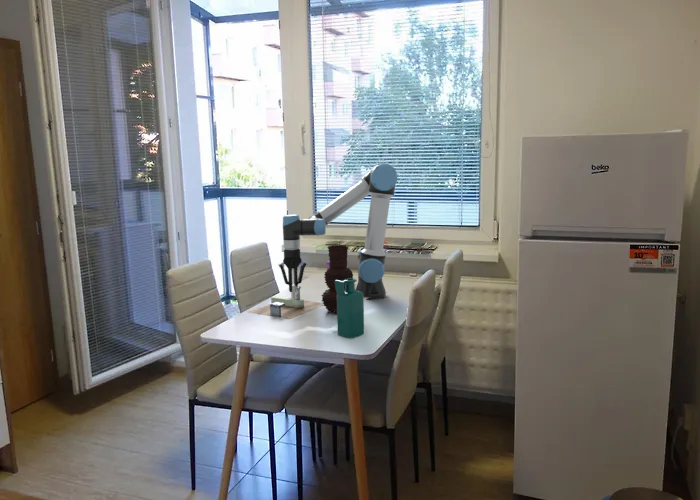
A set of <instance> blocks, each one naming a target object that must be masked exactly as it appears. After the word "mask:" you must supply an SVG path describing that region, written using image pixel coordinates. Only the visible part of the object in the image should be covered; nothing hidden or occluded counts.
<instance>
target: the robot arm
mask: <svg viewBox="0 0 700 500" xmlns="http://www.w3.org/2000/svg"><path fill="white" fill-rule="evenodd" d="M397 183H398V173H397V170H396V169H395V168H394V166H392V165H391V164H388V163H378V164H376V165H374V166H373V167H372V168H371V169H370V170H369V171H368V172H367V173H366V174H365V175H363V176H362V177H361V180H360V181H359V182H358V183H356V184H355V185H353V186H352V187H350V188H349V189H348V190H346V191H345V192H344V193H342V194H340V195H339V196H338V197H336V198H335V199H333V200H332V201H331V202H330V203H328V204H326V205H325V206H324V207H323V208H321V209H319V211H317V212H316V213H314V214H313V215H311V216H309V217H308V218H300V215H299V214H286V215H283V216H282V233H283V234H282V235H283V236H282V237H283V238H282V239H283V248H284V249H283V260H282V262H281V263H278V267H279V268H280V271H281V274H282V278H283V281H284V284H286V285H288V291H289V292H290V295H291V296H290V298H294V299H296V289H295V287H296V286H299V284H301V283H302V281H303V276H304V272H305V267H306V266H307V263H306V261H303V260H302V258H301V239H300V238H301V236H317V237H318V236H325V235H326V231H327V230H326V228H327V227H326V226H328V224H330V223H331V222H333V221H334V220H336V219H337V218H339V217H340V216H342V214H344V213H346V212H347V211H348V210H350V209H352V207H354V206H356V204H358V203H360V202H361V201H362V200H363V199H365V198H366V197H368V196H369V195H370V204H369V212H368V219H367V224H366V235H365V242H364V248H363V249H361V250H359V251H357V270H358V271H357V273H358V274H357V275H358V276H357V278H358V279H357V285H356V287H355V290H358V291H361V292H362V293H363V297H364V298H366V299H365V300H366V301H367V300H369V301H371V300H374V301H375V300H380V299H384V298H386V296H387V291H386V287H385V286H384V281H383V277H384V276H385V272H386V270H385V262H386V252H385V251H384V244H385V237H386V230H387V225H388V224H387V223H388V216H389V210H390V209H389V208H390V202H391V199H392V198H393V197H394V195H395V191H396V184H397ZM285 266H286V267H287V273H286V269H285ZM299 266H300V268H299ZM298 268H299V273H298ZM287 274H288V275H287ZM293 282H294V283H293Z"/></svg>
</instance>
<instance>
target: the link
mask: <svg viewBox="0 0 700 500" xmlns="http://www.w3.org/2000/svg"><path fill="white" fill-rule="evenodd" d="M304 300H305V299H303V298H300V300H296V299H294V298H292V297H286V296H281V295H278V296H277V295H274V296H271V297H270V302H271V303H270V304H272V303H274V302H279V303H285V306H290V307H293V308H302V307H304Z"/></svg>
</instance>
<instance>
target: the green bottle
mask: <svg viewBox="0 0 700 500" xmlns="http://www.w3.org/2000/svg"><path fill="white" fill-rule="evenodd" d="M357 282H358V279H356V278H354V277H353V278H347V279H344V280H343V281H340V280H335V289H336V292H337V313H336V315H337V316H336V319H337V320H336V321H337V335H338V336H341V337H344V338H347V339H354V338H357V337H361V336H364V335H365V309H364V307H365V306H364V305H365V304H364V303H365V302H364V301H365V299H364V298H365V297H363V293H362V292H361V291H358V290H356V287H355V285H356V284H355V283H357ZM344 284H345V290H344Z"/></svg>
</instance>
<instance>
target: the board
mask: <svg viewBox="0 0 700 500" xmlns="http://www.w3.org/2000/svg"><path fill="white" fill-rule="evenodd" d="M270 304H271V303H270ZM270 304H266V305H264V306H260V307H258V308H256V309H253V310H249V311H248V313H251V314H257V315H263V316H270V317H275V318H279V319H280V318H281V319H284V320H285V319H288V320H291V319H293V318H295V317H298V316H301V315H302V314H303V315H304V314H305V313H308V312H310V311H312V310H315V309H317V308H319V307H322V306H323V307H324V304H323V302H318V301H311V300H305V299H304V307H302V308H293V307H290V306H284V307H281V317H277V316H271V315H270Z"/></svg>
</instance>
